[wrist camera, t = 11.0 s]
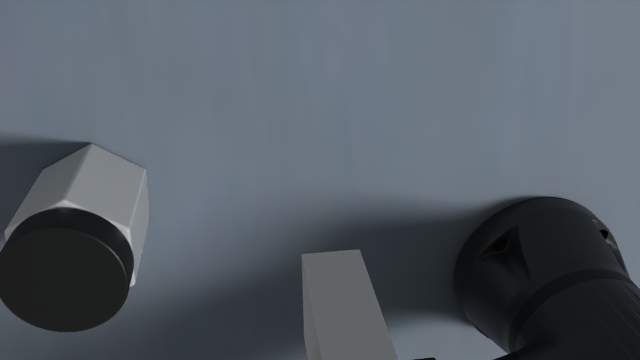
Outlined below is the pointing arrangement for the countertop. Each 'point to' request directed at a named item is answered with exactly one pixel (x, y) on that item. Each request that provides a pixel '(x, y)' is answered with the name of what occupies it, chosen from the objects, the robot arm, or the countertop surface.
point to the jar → (76, 242)
